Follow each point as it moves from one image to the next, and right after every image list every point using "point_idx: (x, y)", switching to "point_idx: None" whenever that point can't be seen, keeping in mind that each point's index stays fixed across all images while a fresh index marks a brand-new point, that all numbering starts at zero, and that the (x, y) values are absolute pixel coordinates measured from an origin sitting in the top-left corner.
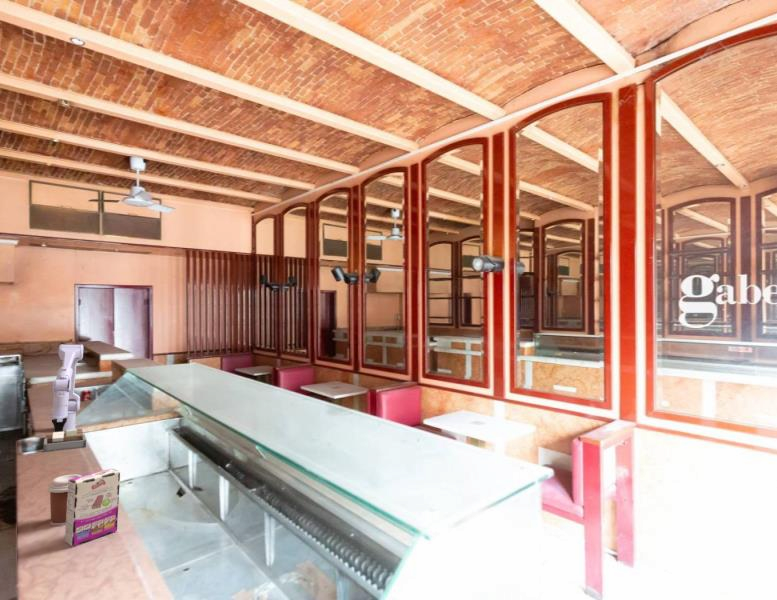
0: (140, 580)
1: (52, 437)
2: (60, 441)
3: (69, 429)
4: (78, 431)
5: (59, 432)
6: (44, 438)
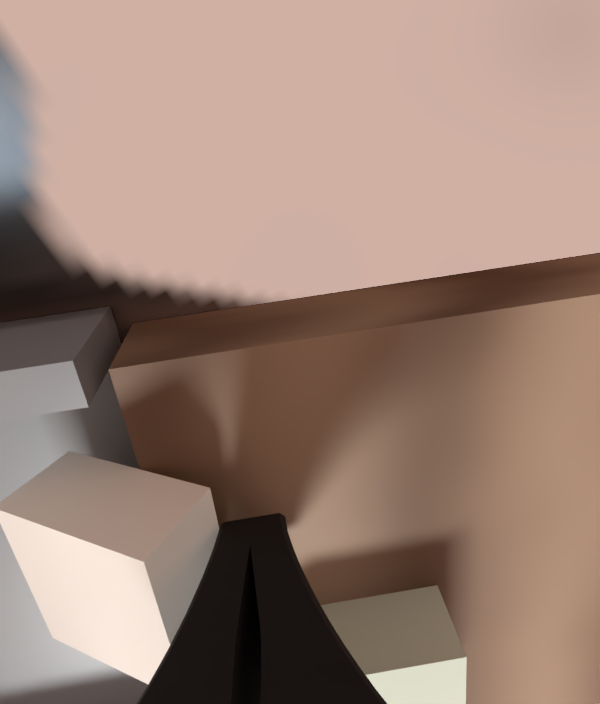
0: None
1: (231, 454)
2: None
3: (461, 692)
4: (534, 685)
5: (155, 643)
6: (60, 363)
